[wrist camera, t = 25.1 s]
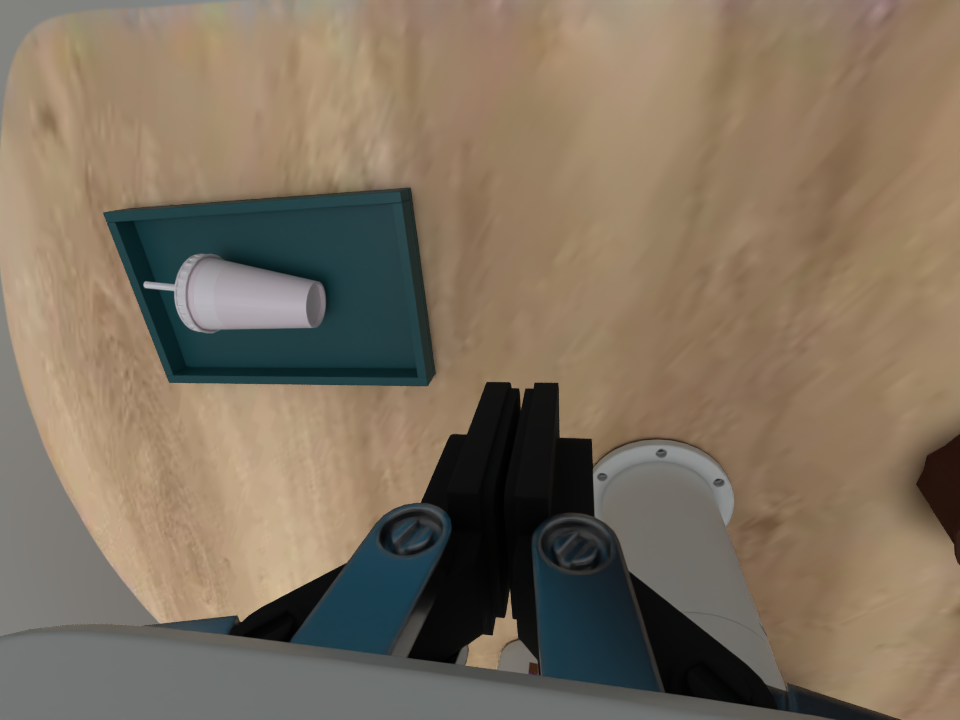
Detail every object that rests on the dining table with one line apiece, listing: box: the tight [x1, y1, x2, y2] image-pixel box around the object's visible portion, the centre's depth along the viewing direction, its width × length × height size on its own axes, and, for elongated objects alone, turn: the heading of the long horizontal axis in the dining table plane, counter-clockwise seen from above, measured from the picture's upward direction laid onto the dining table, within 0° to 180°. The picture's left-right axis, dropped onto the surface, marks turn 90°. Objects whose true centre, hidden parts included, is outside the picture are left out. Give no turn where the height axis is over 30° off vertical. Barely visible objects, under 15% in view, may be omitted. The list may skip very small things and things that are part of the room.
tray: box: [103, 188, 435, 386], centre depth 41 cm, size 16×26×2 cm, turn 94°
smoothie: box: [143, 254, 326, 333], centre depth 39 cm, size 6×6×14 cm
